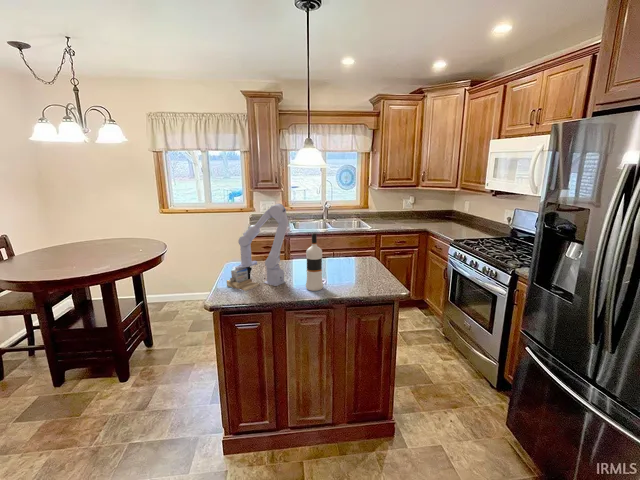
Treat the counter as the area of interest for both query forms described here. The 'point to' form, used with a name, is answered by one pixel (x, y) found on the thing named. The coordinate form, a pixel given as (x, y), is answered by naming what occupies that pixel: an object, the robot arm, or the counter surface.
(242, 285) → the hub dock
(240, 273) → the medicine box
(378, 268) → the counter surface
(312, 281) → the vodka
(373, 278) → the counter surface
